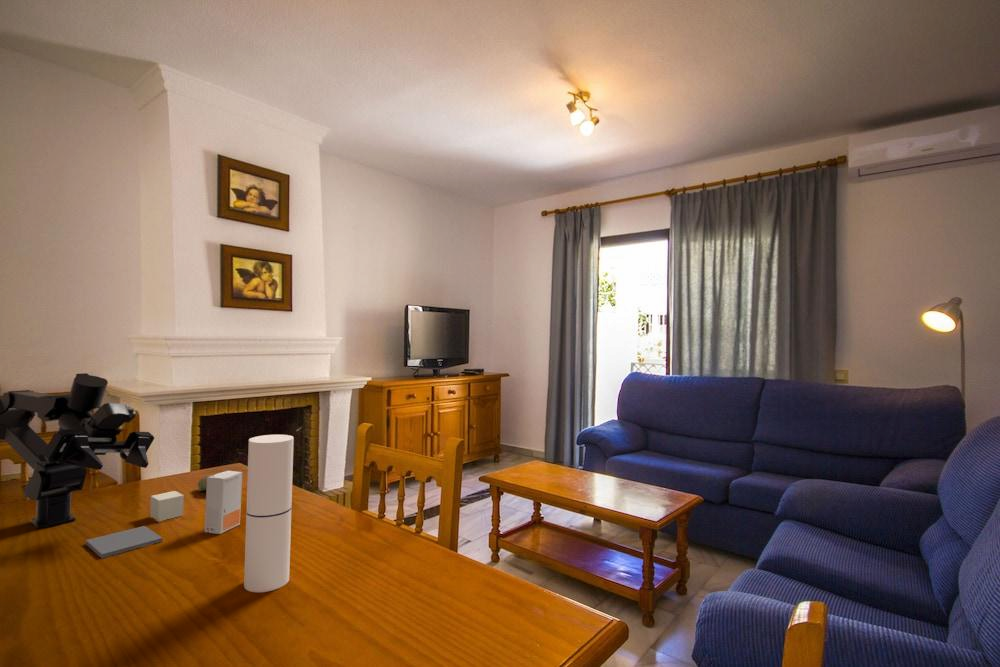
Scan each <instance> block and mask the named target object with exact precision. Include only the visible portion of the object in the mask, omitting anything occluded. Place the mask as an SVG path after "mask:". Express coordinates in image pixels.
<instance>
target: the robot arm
mask: <svg viewBox="0 0 1000 667" xmlns="http://www.w3.org/2000/svg"><path fill="white" fill-rule="evenodd" d="M107 387H108V379H107V378H103V377H100V376H96V375H90V374H89V373H84V372H83V373H76V374H75V377H74V379H73V381H72V385H71V387H70V391H69V393H61V394H60V393H59V394H49V393H42V392H38V391H34V390H30V389H24V390H23V389H22V390H10V391H7V392H6V391H5V392H4V393H3V394H2V395H1V397H0V441H5V443H7V444H8V445H9V447H11V448H12V449H13V450H14V451H15V452H16V453H17V454H18V456H20V457H21V458H22V459H23V461H24V462H26V464H27V465H28V466H29V467H31V469H33V471H32V475H31V477H30V478H29V479H28V481H27V483H26V484H25V486H24V487H23V488H24V489H23V490H24V497H25V498H27V499H30V500H34V501H36V510H35V514H36V515H35V518H31V519H30V522H31V524H32V525H33V526H34V527H35V528H36V529H41V528H45V527H46V528H47V527H50V526H54V525H60V524H64V523H69V522H74V521H76V520H77V518H76V516H74V515H73V514H72V513H71V509H72V506H71V505H72V493H73V492H76V491H82V490H83V487H84V485H85V480H86V477H87V473H88V472H87V468H88V469H92V470H98V471H100V470H102V469H103V466H104V464H103V462H102V461H101V460H100V457H98V456H105V455H106V454H110V453H116V454H117V453H118V454H119V457H120V458H121V459H122V460H124V462H125V463H128V464H131V465H134V466H137V467H140V468H142V469H143V468H144V469H147V467H148V466H149V464H150V463H149V459H148V455H147V453H148V450H149V448H150V447H151V446H152V444H153V442H154V440H155V437H154V435H153V434H152V432H149V431H132V432H130V433H128V436H127V437H126V438H125V439H126V440H117V436H120V434H121V433H122V431H123V430H122V428H121V427H122V425H123V424H124V423H127V424H130V422H132V420H134V419H135V417H136V415H137V413H136V411H135V409H134V408H133V407H131V405H127V404H125V403H118V402H117V403H115V402H107V403H104V404H102V402H103V399H104V396H105V393H106V389H107ZM93 410H96V411H95V412H94V413H93V412H92V411H93ZM36 414H37V415H36ZM35 416H36V417H37V418H38V419H41V421H44V422H47V423H48V422H56V421H58V422H57V425H58V427H59V428H58V430H57V431H55V433H53V435H52V437H51V439H50V440H49V442H47V441H45V439H43V438H42V437H41V436H40V435H39V434H38V433H37V432H36V431H35V430H34V429H32V427H31V426H30V424H31V423H32V421H33V419H34V418H35Z"/></svg>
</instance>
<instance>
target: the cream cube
mask: <svg viewBox="0 0 1000 667" xmlns="http://www.w3.org/2000/svg"><path fill="white" fill-rule="evenodd" d="M184 500H185V498H184V494H183V493H180V492H179V491H176V490H172V491H168V492H163V493H159V494H158V493H157V494H154V495H150V504H149V505H150V506H149V507H150V508H149V509H150V510H149V511H150V512H149V514H150V515H149V516H151V517H153V518H154V519H156V520H157V521H162V520H166V519H170V518H174V517H178V516H182V515H183V516H184ZM183 516H182V517H183ZM151 517H150V518H151ZM178 518H179V517H178ZM154 519H153V520H154ZM174 519H175V518H174ZM156 520H155V521H156ZM170 520H171V519H170ZM157 521H156V522H157ZM166 521H167V520H166ZM162 522H163V521H162Z"/></svg>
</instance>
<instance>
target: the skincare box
mask: <svg viewBox="0 0 1000 667" xmlns="http://www.w3.org/2000/svg"><path fill="white" fill-rule="evenodd" d="M214 474H215V475H213V474H212V475H213V476H210V475H209V476H210V477H207V489H206V490H205V491H206V492H205V494H206V496H205V515H204V533H207V532H209V534H216V535H221V534H223V533H225V532H227V531H229V530H231V529H233V528H235V527H238V526H239V525H240V524H241V509H242V508H241V506H242V486H243V484H242V483H243V472H242V471H236V470H235V471H234V470H233V471H232V470H226V471H223V472H218V473H214Z"/></svg>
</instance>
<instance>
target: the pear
mask: <svg viewBox="0 0 1000 667" xmlns="http://www.w3.org/2000/svg"><path fill="white" fill-rule="evenodd" d="M215 474H216V473H213V474H210V475H207V476H204V477H201V479H200V480H198V482H197V487H198V492H199V491H202V492H205V491H206V489H207V477H210V476H213V475H215Z"/></svg>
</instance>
